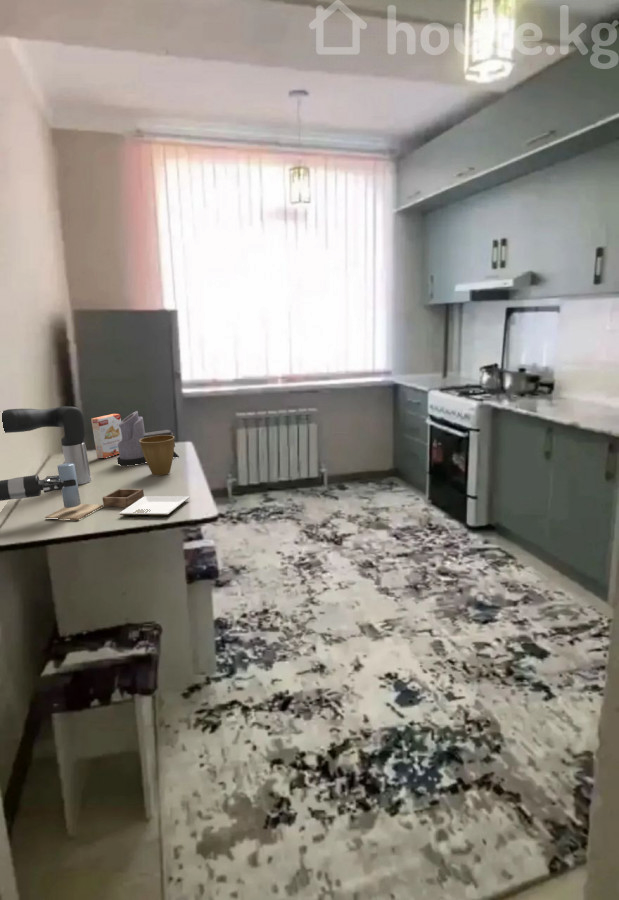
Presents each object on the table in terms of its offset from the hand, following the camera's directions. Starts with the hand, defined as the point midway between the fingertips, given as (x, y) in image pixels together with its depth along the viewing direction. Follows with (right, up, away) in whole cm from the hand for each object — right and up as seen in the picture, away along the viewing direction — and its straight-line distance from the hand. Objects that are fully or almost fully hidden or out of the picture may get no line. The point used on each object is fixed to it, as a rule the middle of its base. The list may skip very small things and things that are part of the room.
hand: (75, 480), depth 205 cm
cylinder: (-2, -9, +1) cm, 9 cm away
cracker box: (-18, +8, +90) cm, 92 cm away
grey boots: (+4, +6, +76) cm, 76 cm away
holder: (+14, -9, +11) cm, 20 cm away
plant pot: (+18, 0, +48) cm, 51 cm away
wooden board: (-1, -12, +2) cm, 12 cm away
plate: (+29, -11, +1) cm, 31 cm away
